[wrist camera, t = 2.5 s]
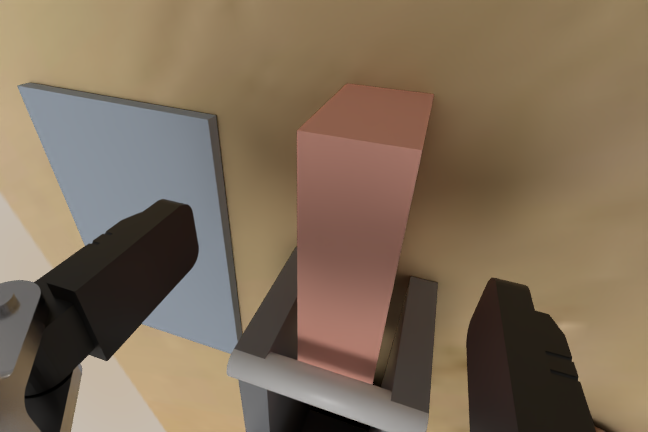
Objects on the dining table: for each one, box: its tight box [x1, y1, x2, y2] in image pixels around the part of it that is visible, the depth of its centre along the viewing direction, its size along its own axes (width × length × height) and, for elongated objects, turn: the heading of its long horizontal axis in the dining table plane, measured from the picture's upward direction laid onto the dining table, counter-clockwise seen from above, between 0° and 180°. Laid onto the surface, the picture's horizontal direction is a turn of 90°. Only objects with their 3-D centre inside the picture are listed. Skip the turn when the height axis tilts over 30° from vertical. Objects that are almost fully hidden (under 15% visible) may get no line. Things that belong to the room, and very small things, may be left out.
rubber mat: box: [17, 83, 242, 354], centre depth 20 cm, size 16×10×1 cm, turn 177°
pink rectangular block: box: [297, 83, 434, 384], centre depth 14 cm, size 12×3×5 cm, turn 177°
